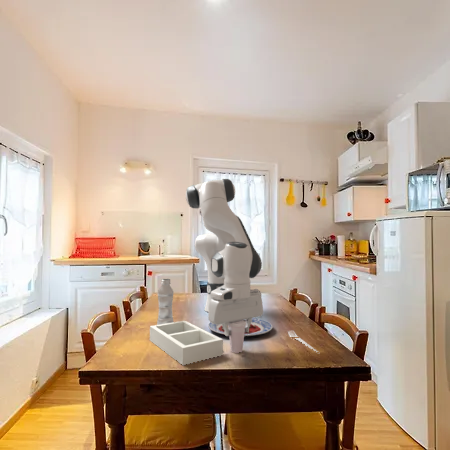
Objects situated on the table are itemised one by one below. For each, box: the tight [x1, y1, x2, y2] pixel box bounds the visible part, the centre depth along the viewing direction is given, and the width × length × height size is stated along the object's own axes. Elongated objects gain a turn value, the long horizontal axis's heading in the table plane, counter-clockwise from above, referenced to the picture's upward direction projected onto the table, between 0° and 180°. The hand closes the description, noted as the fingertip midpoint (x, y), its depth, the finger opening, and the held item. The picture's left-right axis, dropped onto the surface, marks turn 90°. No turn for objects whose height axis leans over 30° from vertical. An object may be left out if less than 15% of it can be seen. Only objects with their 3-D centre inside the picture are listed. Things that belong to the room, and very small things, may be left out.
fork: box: [287, 330, 319, 353], centre depth 110 cm, size 3×20×2 cm, turn 16°
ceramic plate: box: [208, 317, 273, 338], centre depth 125 cm, size 26×26×3 cm
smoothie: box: [228, 320, 246, 354], centre depth 102 cm, size 6×6×14 cm
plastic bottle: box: [156, 278, 174, 325], centre depth 126 cm, size 6×7×20 cm
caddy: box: [149, 320, 224, 366], centre depth 105 cm, size 26×14×5 cm, turn 34°
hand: (236, 333), depth 102 cm, fingers closed on smoothie, 6 cm apart
